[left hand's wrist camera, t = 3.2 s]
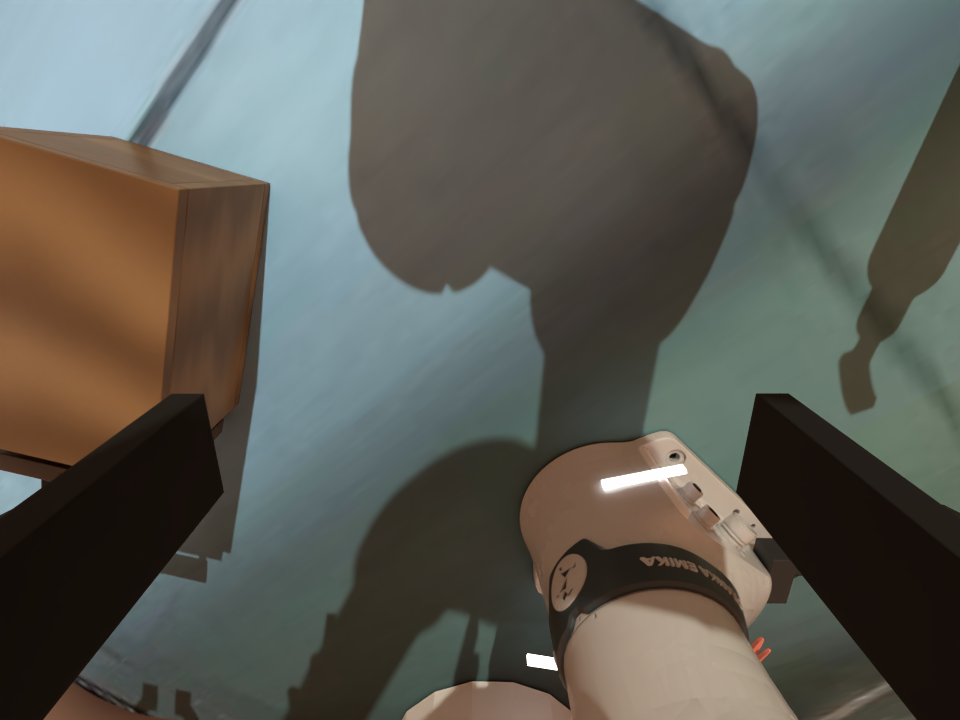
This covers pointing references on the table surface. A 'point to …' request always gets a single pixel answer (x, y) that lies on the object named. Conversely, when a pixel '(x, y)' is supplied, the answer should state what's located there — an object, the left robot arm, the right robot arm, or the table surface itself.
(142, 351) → the cabinet
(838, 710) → the table surface
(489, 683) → the container
